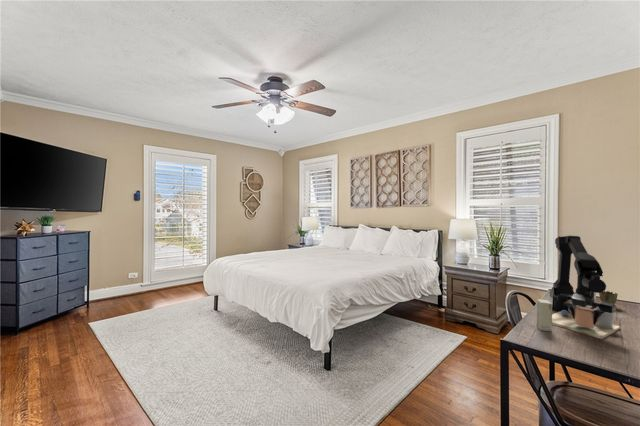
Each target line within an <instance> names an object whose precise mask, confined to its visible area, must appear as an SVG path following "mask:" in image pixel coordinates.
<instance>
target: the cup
mask: <svg viewBox="0 0 640 426" xmlns="http://www.w3.org/2000/svg"><path fill="white" fill-rule="evenodd" d="M598 295H599V300H600V302H601V303H603V302H606V303H610V304H614V305H616V303H617V300H618V293H617V292H615V293H613V291H609V290H607V291H606V290H604V291H603V292H601V293H598Z"/></svg>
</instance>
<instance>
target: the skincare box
mask: <svg viewBox="0 0 640 426" xmlns="http://www.w3.org/2000/svg"><path fill="white" fill-rule="evenodd" d="M552 314H553V310H552V302H551V301H550V300H547V299H539V298H537V301H536V326H537V329H539V330H540V331H545V332H546V331H547V332H552V330H553V328H552V327H553V326H552V325H553V324H552Z"/></svg>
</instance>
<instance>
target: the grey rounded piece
mask: <svg viewBox="0 0 640 426" xmlns="http://www.w3.org/2000/svg"><path fill="white" fill-rule="evenodd" d="M592 309H593V310H596V309H597V308H596V307H595V308H592ZM613 325H614V312H613V313H608V312H605V313H603V314H602V315H601V316H600V318H599V320H598V321H597V323H596V325H595V326H596V327H599V328H603V329H613Z"/></svg>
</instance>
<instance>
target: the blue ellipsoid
mask: <svg viewBox="0 0 640 426" xmlns="http://www.w3.org/2000/svg"><path fill="white" fill-rule="evenodd" d="M569 313H570V312H568V311H566V310H562V311H561V314H562V315H563V316H568V315H569Z"/></svg>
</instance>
